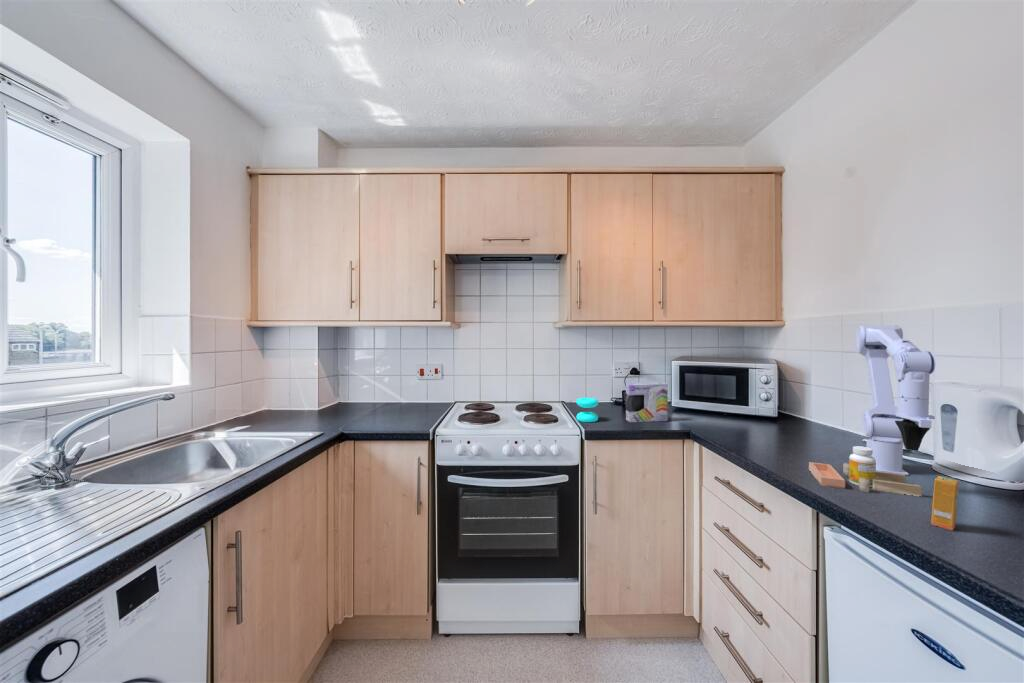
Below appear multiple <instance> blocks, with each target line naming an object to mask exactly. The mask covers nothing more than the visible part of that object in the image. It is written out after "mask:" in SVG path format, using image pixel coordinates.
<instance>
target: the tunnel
mask: <svg viewBox="0 0 1024 683" xmlns="http://www.w3.org/2000/svg"><path fill="white" fill-rule="evenodd" d="M842 467H843V468H842V474H843V475H844V476H847V477H849V463H848V462H843V466H842ZM869 481H870V480H868V479H865V478H859V486H858V491H859V492H862V493H870V487H869ZM906 481H907V475H904V474H897V473H889V472H881V471H876V480H874V479H873V487H871V488H872V490H873V491H876V492H882V491H884V493H890V492H891V493H892V494H897V493H898V494H899V495H904V494H906V496H911V495H913V497H919V496H921V497H922V489H923V487H922V486H921V485H919V484H913V483H906Z"/></svg>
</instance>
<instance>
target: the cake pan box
mask: <svg viewBox="0 0 1024 683" xmlns="http://www.w3.org/2000/svg"><path fill="white" fill-rule="evenodd" d="M668 385H669V384H668V383H666V382H626V383H625V402H624V403H625V404H624V405H625V406H624V407H625V420H626V421H627V422H628V423H644V422H649V423H650V422H651V423H652V422H668V417H669V416H668V411H669V410H668V406H669V405H668V404H669V400H668V399H669V396H668V390H669V389H668Z"/></svg>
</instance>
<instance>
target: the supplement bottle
mask: <svg viewBox="0 0 1024 683" xmlns="http://www.w3.org/2000/svg"><path fill="white" fill-rule="evenodd" d="M872 454H873V450H872V449H871V448H868V447H866V446H861V445H859V446H858V445H855V446H852V453H851V454H850V455H849V458H848V462H849V463H848V464H849V476H848V482H849V483H851V484H852V485H855V486H858V487H859V478H865V479H868V480H870V481H869V488H873V479H874V480H876V460H875V458H873V457H872V456H871V455H872Z"/></svg>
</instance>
